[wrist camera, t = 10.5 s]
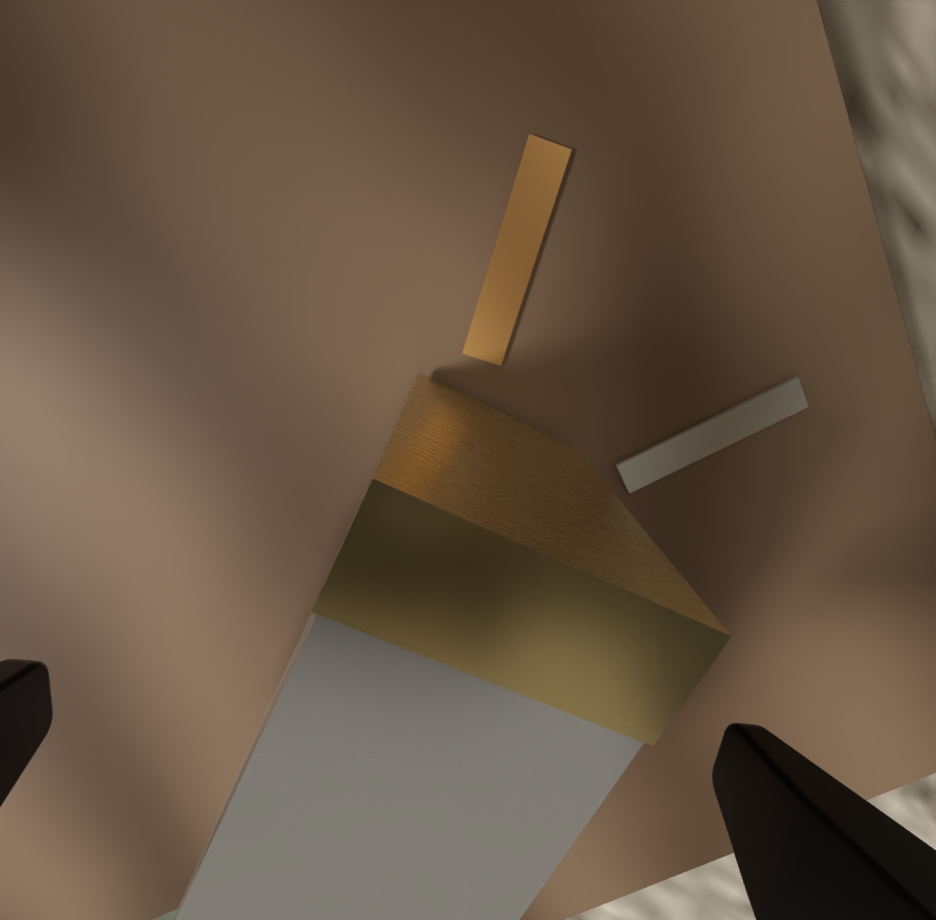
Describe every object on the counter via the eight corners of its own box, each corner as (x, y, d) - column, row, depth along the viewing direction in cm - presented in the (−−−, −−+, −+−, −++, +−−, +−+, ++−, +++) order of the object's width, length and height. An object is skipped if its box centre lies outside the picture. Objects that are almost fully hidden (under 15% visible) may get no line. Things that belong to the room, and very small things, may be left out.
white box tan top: (408, 748, 12) (371, 1140, 6) (269, 697, 11) (97, 1076, 6) (577, 448, 10) (731, 636, 4) (419, 372, 9) (372, 478, 4)
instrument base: (161, 1038, 16) (105, 1183, 13) (-578, 364, 10) (-939, 388, 7) (976, 707, 13) (1104, 808, 11) (628, -477, 7) (726, -901, 5)
